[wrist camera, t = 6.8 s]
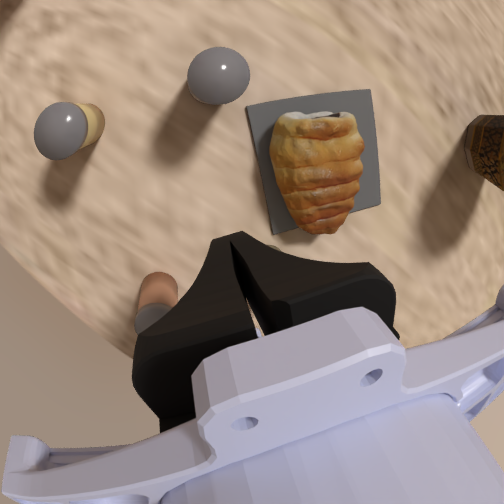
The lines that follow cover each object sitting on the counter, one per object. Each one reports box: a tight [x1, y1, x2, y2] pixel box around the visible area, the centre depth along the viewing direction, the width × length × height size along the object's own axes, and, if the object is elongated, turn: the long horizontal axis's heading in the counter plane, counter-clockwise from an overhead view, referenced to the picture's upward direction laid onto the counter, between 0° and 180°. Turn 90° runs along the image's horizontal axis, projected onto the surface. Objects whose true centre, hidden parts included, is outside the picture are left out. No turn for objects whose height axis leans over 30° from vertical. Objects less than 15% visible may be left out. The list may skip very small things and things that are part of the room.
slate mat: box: [246, 89, 381, 234], centre depth 22 cm, size 10×10×1 cm
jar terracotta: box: [135, 272, 178, 335], centre depth 22 cm, size 3×3×5 cm
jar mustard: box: [34, 102, 105, 160], centre depth 15 cm, size 3×3×5 cm
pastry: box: [269, 111, 365, 234], centre depth 20 cm, size 9×7×4 cm
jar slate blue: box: [187, 47, 250, 105], centre depth 15 cm, size 3×3×5 cm
